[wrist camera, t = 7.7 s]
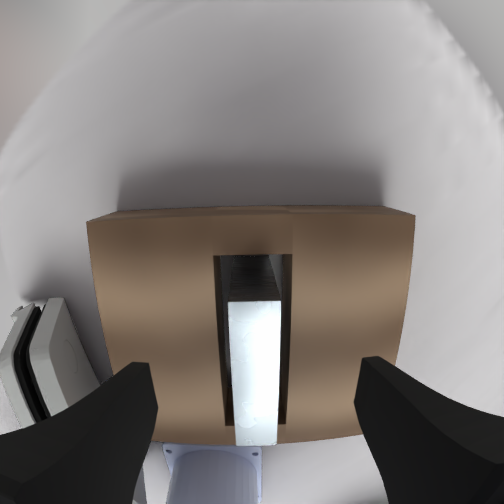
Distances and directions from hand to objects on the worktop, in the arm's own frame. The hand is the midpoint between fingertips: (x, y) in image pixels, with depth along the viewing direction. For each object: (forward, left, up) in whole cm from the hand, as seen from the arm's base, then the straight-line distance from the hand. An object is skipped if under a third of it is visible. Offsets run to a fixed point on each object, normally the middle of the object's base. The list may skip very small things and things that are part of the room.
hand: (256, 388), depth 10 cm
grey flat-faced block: (-2, 0, -10) cm, 10 cm away
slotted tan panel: (-2, 0, -10) cm, 10 cm away
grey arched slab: (-9, +13, -10) cm, 18 cm away
